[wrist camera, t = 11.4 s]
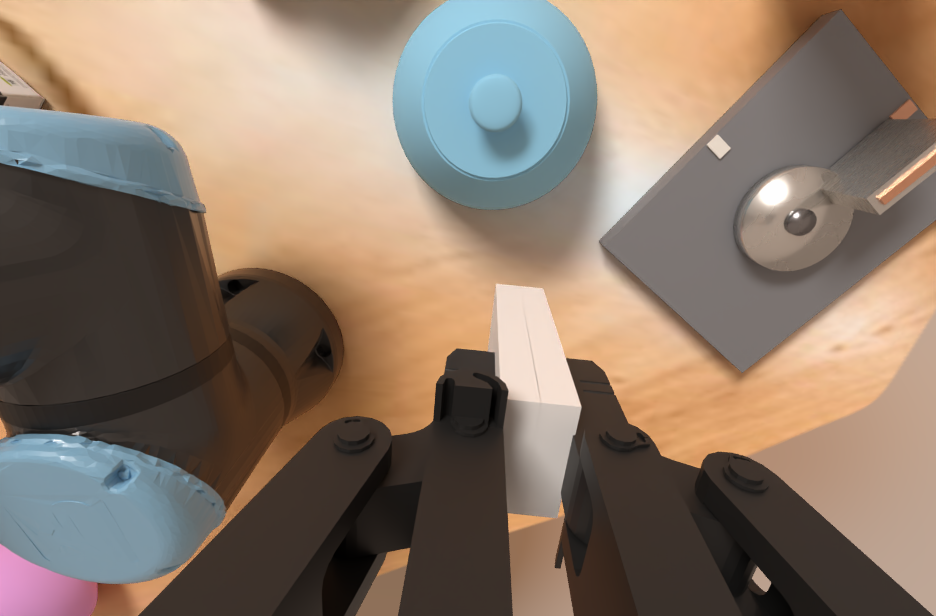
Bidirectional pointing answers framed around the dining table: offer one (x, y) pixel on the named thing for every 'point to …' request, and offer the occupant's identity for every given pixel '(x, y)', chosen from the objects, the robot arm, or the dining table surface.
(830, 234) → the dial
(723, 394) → the dining table surface
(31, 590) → the teapot
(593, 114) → the sugar bowl
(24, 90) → the tea box
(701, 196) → the board
